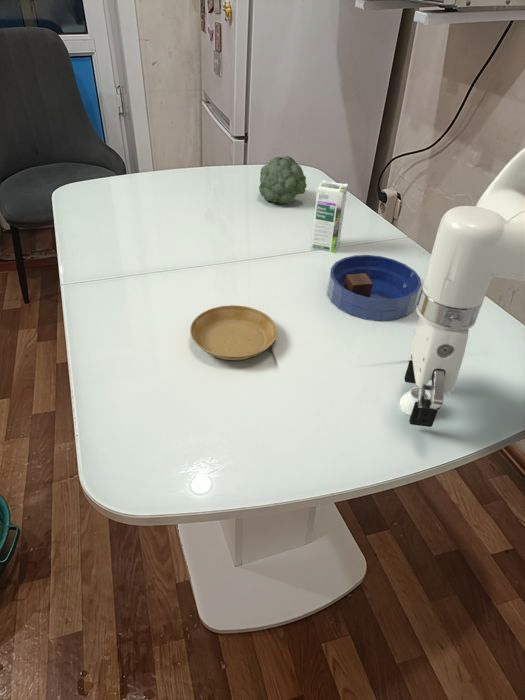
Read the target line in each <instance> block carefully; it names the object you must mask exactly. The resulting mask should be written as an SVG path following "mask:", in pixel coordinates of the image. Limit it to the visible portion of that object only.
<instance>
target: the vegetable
mask: <svg viewBox="0 0 525 700" xmlns="http://www.w3.org/2000/svg"><path fill="white" fill-rule="evenodd" d="M259 182H260V184H259V187H258V190H259V194H260V195H261V196H262V197H263V198H264V200H265V201H266V202H272V203H278V204H280V205H284V204H290V203H291V201H294V200H295V198H296V196H297V195H304V194H305V192H306V189H307V185H308V184H307V176H306V175H305V174H304V171H303V168H302V167H301V166H300V165H299V164H298V163H297V162H296V160H295V159H293V158H292V157H291V156H289V155H285V156H282V157H281V156H275V157H272V158H271V159H270V160H269V162H267V164H265V165H264V166H262V167H261V168H260V176H259Z"/></svg>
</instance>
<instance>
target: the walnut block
mask: <svg viewBox="0 0 525 700" xmlns="http://www.w3.org/2000/svg"><path fill="white" fill-rule="evenodd" d="M372 286H373V283H372V282H371V280H370V279H369V277H368V276H367V275H366V273H361V274H347V275H346V279H345V285H344V288H345V289H347V290H349V291H351V292H353V293H355V294H358V295H362V296H365V297H369V298H370V296H371V291H372Z"/></svg>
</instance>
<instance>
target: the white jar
mask: <svg viewBox="0 0 525 700" xmlns="http://www.w3.org/2000/svg"><path fill="white" fill-rule="evenodd" d="M419 389H420V388H419V387H418V386H414V387H412V388H410V390H408V391H406V392H405V393H404V394H402V396H401V397H400V399H399V407H400V409H401V410H402V411H403V412H404V413H405V414H407V416H411V413H412V410H413V407H414V404H415V402H418V397H419ZM431 394H432V393H431V392H430V390H425V396H424V399H430V397H431Z"/></svg>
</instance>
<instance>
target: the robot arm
mask: <svg viewBox="0 0 525 700" xmlns="http://www.w3.org/2000/svg"><path fill="white" fill-rule="evenodd" d="M494 278H501V279H509V280H515V281H521V282H525V147H524V148H522V149H521V150H520V151H519V152H518V153H517V154H515V155H514V156H513V157H512V158H511V159H510V160H509V161H508V162H507V163H506V164H505V166H503V168H502V169H501V170H500V172H499V173H498V174H497V176H496V177H494V180H492V181H491V183H490V184H489V185H488V187H487V188H486V189H485V191H484V192H483V193H482V194H481V196H480V198H479V199H478V201H477V202H476V204H475V205H459V206H454V207H452V208H450V209H448V210H447V211H446V212H445V213H444V214H443V215H442V217H441V219H440V223H439V226H438V228H437V232H436V236H435V240H434V243H433V247H432V251H431V254H430V258H429V261H428V265H427V269H426V272H425V275H424V279H423V283H422V285H421V289H420V293H419V296H418V300H417V304H416V307H415V308H416V309H415V311H416V313H417V315H418V317H419V318H418V321H417V324H416V327H415V331H414V334H413V338H412V342H411V353H410V359H409V360H408V364H407V368H406V371H405V374H404V378H403V379H404V382H405V383H408V384H416V385H415V386H416V387H419V388H420V389H419V397H418V402H415V404H414V407H413V410H412V413H411V416H410V415H409V416H410V417H409V419H408V420H409V421H408V422H409V424H410V425H412V426H419V427H425V428H426V427H427V428H431V427H433V425H434V422H435V420H436V417H437V415H438V411H439V410H440V408H442V406H443V405H444V394H445V393H448V394H450V393H452V392H453V391H454V389H455V386H456V382H457V379H458V376H459V373H460V370H461V366H462V363H463V360H464V357H465V352H466V349H467V344H468V338H469V333H470V332H469V330H470V329H471V328H473V327H474V326H475V324H476V322H477V319H478V317H479V314H480V312H481V308H482V305H483V303H484V300H485V297H486V295H487V292H488V290H489V287H490V284H491V282H492V279H494ZM430 381H431V384H428V383H429V382H430ZM425 390H428V391H431V393H430V394H431V397H430V399H424V396H425Z"/></svg>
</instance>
